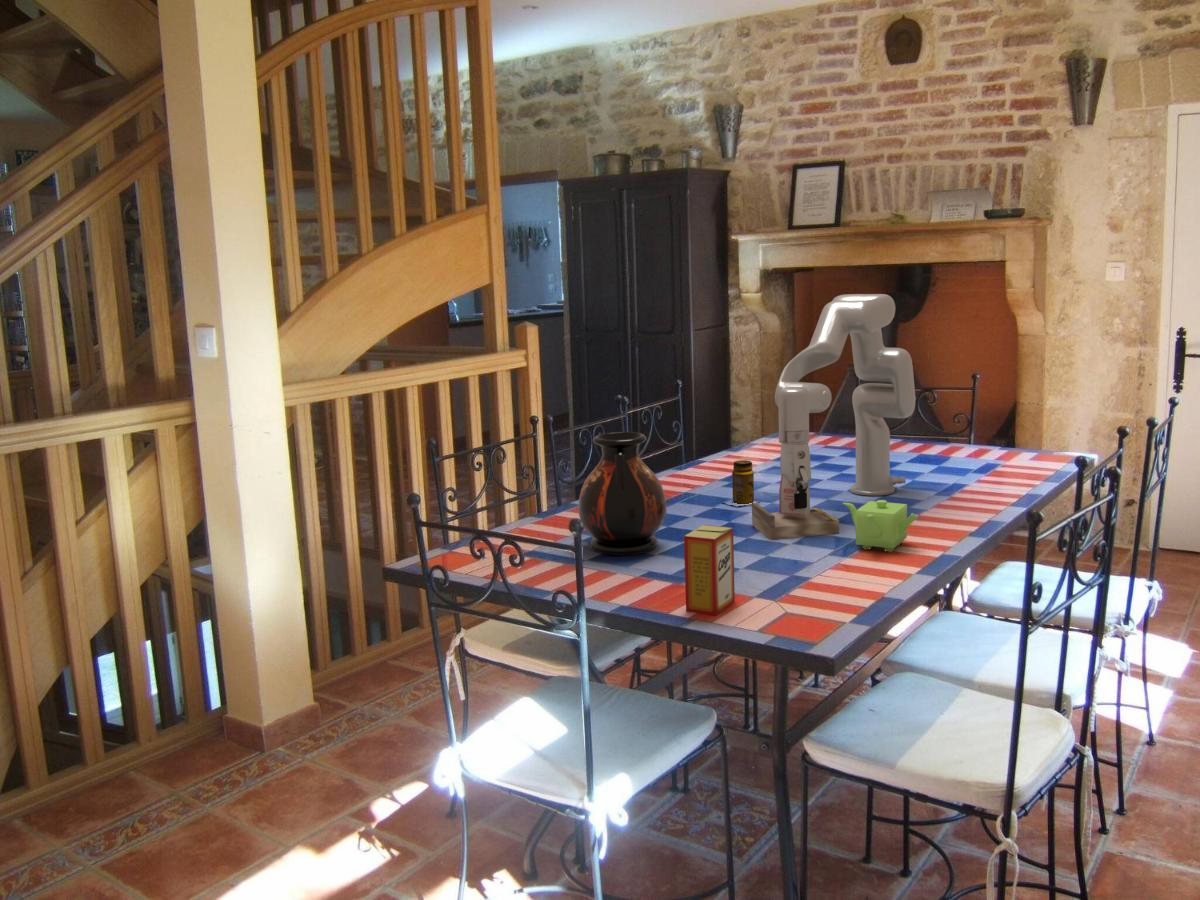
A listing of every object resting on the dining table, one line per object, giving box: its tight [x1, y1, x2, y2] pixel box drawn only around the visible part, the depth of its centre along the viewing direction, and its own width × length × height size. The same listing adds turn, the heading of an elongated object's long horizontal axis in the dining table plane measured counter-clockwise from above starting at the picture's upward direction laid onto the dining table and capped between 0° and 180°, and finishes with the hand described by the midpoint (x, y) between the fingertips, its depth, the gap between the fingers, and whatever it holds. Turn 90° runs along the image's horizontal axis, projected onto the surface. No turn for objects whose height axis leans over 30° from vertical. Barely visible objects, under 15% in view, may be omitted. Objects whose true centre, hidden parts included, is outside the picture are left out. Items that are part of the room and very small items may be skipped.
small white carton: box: [778, 473, 811, 516], centre depth 265 cm, size 4×7×10 cm, turn 58°
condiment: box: [731, 459, 755, 504], centre depth 295 cm, size 7×8×12 cm
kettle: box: [842, 499, 918, 552], centre depth 247 cm, size 15×14×11 cm
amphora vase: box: [577, 431, 667, 556], centre depth 254 cm, size 22×22×28 cm
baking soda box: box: [683, 524, 736, 616], centre depth 210 cm, size 10×6×16 cm
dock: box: [751, 503, 840, 540], centre depth 266 cm, size 18×14×6 cm
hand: (794, 504), depth 265 cm, fingers closed on small white carton, 7 cm apart
